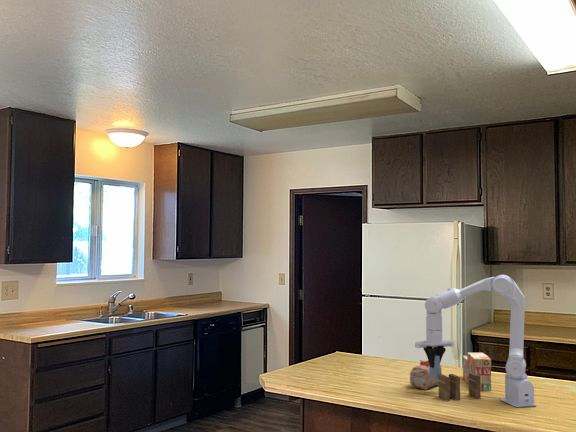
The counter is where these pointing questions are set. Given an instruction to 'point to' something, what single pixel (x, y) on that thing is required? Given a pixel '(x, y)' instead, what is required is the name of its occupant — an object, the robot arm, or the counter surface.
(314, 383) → the counter surface
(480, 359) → the stack of blocks
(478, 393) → the domino
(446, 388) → the domino
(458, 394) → the domino
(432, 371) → the placed domino
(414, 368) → the food item
